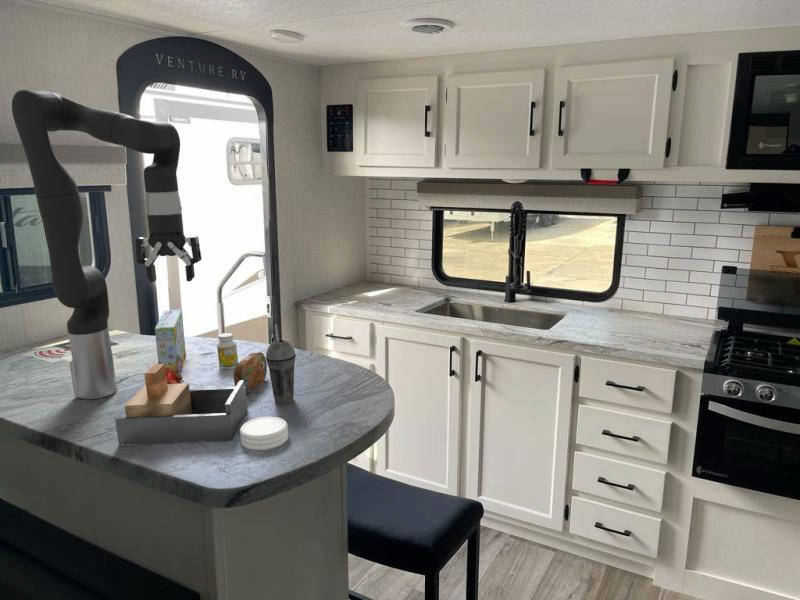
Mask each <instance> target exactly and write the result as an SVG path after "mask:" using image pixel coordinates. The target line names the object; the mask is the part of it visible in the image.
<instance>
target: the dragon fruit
mask: <svg viewBox="0 0 800 600" xmlns="http://www.w3.org/2000/svg"><path fill="white" fill-rule="evenodd" d="M165 369H166V377H167V384H180V383H185V381H184V380H183V378H184V377H183V376H182V375H181V374H180V375H179V374H177V373H178V370H177V369H170V368H169V367H165Z"/></svg>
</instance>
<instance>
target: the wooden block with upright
mask: <svg viewBox="0 0 800 600" xmlns="http://www.w3.org/2000/svg"><path fill="white" fill-rule="evenodd" d="M144 381H145V384H144V385H143V386H142V388H140V390H139V391H138V392H136V394H135V395H134V396H133V397H131V399H129V400H128V402H127V403H126V404H125V405H124V410H125V417H140V416H166V415H190V413H191V412H192V407H191V398H190V389H191V388H190V383H189V382H187V383H185V382H182V383H180V384H167V377H166V369H165V364H158V363H154V364H153V365H152V366H150V367H149V368H148V370H146V371H145V372H144Z"/></svg>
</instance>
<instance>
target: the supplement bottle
mask: <svg viewBox="0 0 800 600" xmlns="http://www.w3.org/2000/svg"><path fill="white" fill-rule="evenodd" d="M216 344H217V345H216V347H217V348H216V349H217V357H218V358H217V360H218V366H219V368H220V369H222V370H232V368H233V369H235V367H236V365H237V364H238V363H239V359H238V346H237V342H236V341H235V340H234V334H233V333H231V332H225V333H220V334H218V342H217V343H216Z"/></svg>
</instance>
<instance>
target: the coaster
mask: <svg viewBox="0 0 800 600" xmlns="http://www.w3.org/2000/svg"><path fill="white" fill-rule="evenodd" d="M241 425H242V426H241V427H240V429H239V434H240V443H241V446H242V447H243V448H246V449H248V450H252V451H268V450H272V449H276V448H278V447H280V446H282V445H284V444H285V443H286V442H287V441H288V440H289V428H288V426H289V425H288V422H287V421H286V420H285V419H283V418H281V417H279V416H276V417H275V416H263V417H262V416H261V417H257V418H253V419H250V420H248V421H246V422H244V423H243V424H241Z"/></svg>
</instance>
